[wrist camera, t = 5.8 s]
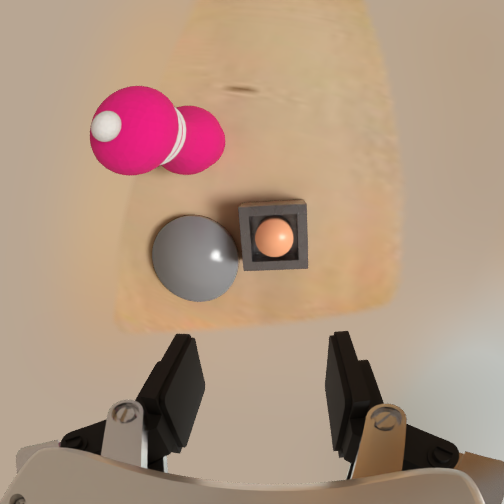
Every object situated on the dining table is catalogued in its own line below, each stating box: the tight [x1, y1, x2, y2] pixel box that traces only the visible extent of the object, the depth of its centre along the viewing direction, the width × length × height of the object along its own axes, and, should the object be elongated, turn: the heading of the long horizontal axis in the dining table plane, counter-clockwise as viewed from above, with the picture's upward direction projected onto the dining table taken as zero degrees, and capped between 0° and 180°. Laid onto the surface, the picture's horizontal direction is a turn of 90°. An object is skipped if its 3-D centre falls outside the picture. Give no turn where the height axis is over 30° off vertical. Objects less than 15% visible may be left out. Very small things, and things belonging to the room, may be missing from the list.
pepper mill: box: [90, 86, 225, 175], centre depth 22 cm, size 7×7×20 cm
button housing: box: [238, 200, 308, 271], centre depth 32 cm, size 7×7×4 cm
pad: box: [152, 215, 239, 302], centre depth 35 cm, size 11×11×1 cm
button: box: [255, 216, 293, 257], centre depth 31 cm, size 4×4×2 cm
